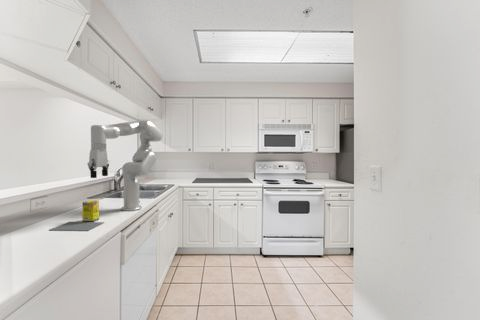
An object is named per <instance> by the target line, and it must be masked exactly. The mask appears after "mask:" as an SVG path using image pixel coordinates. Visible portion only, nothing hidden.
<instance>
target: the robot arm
mask: <svg viewBox="0 0 480 320" xmlns="http://www.w3.org/2000/svg"><path fill="white" fill-rule="evenodd" d="M137 134H139V140H140V145H139V147H138V148H137V150H136V152H135V153H134V154H133V156H132V158H131V159H132V161H129V162H125V163H124V164H123V165H122V168H121V171H122V176H123V206H122V207H121V208H120V209H121V211H127V212H131V211H132V212H133V211H138V209H139V210H141V209H142V205H140V204H141V200H140V180H139V178H142V177H146V176H147V175H148V174H149V173H150V171H152V168H153V167H154V165H155V164H156V161H157V156H156V154H155V152H153V147H152V145H151V143H153V142H160V141H162V139H163V133H162V131H161V130H160V129H159V128H158V126H157V125H155V124H154V123H153V122H152V121H150V120H147V119H146V120H145V119H143V120H134V121H133V120H132V121H126V122H125V121H124V122H119V123H114V124H113V123H112V124H106V125H100V124H92V125H90V151H89V157H88V158H89V160H88V162H87V167H88V169H89V173H90V179H97V176H98V175H97V174H98V173H97V168H101V176H102V177H108V176H109V174H108V173H109V172H108V171H109V167H110V160H108V152H107V140H111V139H113V140H114V139H117V138H119V137H124V136H125V137H126V136H131V135H137ZM138 177H139V178H138Z"/></svg>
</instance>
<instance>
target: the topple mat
mask: <svg viewBox="0 0 480 320" xmlns="http://www.w3.org/2000/svg"><path fill="white" fill-rule="evenodd" d="M103 224H105V222H104V221H103V222H102V221H101V222H100V221H94V222H82V221H68V222H65V223H62V224H61V225H57V226H54V227H52V228H50V229H49V231H54V232H55V231H57V232H58V231H61V232H65V231H67V232H69V231H70V232H71V231H72V232H90V231H91V230H93V229H95V228H97V227H99V226H101V225H103Z"/></svg>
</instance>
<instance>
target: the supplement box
mask: <svg viewBox="0 0 480 320" xmlns="http://www.w3.org/2000/svg"><path fill="white" fill-rule="evenodd" d="M99 207H100V200H98V199H97V200H93V199H92V200H90V199H89V200H87V201H82V215H81V216H82V219H81V220H82V221H81V222H97V221H98V220H99V218H100V212H99V211H100V210H99V209H100V208H99Z"/></svg>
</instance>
